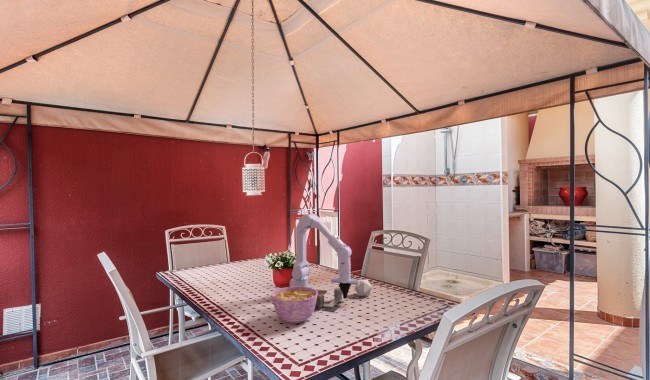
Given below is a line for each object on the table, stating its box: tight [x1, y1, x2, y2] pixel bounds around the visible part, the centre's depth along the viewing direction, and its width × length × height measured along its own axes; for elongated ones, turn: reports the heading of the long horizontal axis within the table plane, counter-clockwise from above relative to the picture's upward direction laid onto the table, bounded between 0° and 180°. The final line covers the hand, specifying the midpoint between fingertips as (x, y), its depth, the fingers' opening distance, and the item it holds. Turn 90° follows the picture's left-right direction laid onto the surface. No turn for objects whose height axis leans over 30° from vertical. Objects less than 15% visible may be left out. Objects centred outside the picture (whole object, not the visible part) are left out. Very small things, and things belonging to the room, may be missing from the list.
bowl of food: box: [271, 286, 318, 325], centre depth 139 cm, size 20×20×12 cm
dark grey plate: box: [322, 304, 341, 313], centre depth 152 cm, size 6×8×1 cm
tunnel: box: [315, 289, 328, 311], centre depth 155 cm, size 6×8×7 cm
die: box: [354, 279, 373, 297], centre depth 170 cm, size 8×9×10 cm
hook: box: [315, 287, 343, 309], centre depth 158 cm, size 10×15×6 cm
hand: (345, 297), depth 161 cm, fingers closed
